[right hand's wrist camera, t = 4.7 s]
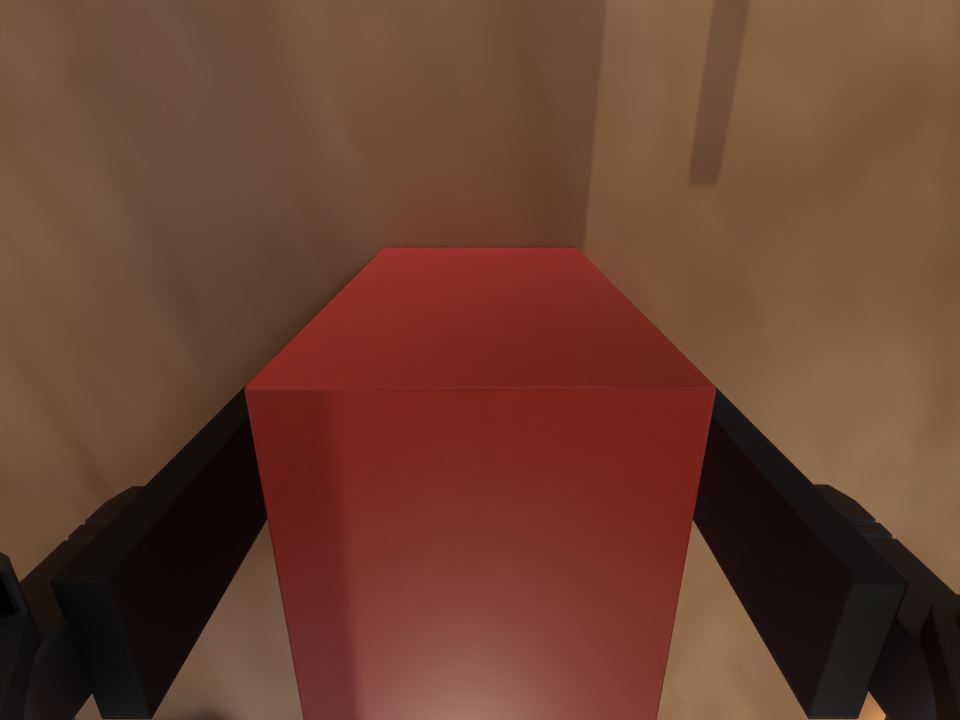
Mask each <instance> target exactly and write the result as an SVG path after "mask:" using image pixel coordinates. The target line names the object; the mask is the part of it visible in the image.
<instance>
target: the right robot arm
mask: <svg viewBox="0 0 960 720" xmlns="http://www.w3.org/2000/svg"><path fill="white" fill-rule="evenodd" d="M715 388H716V387H715ZM266 520H267V513H266V507H265V502H264V496H263V491H262V485H261V479H260V474H259V468H258V463H257V457H256V452H255V446H254V440H253V435H252V429H251V424H250V418H249V413H248V407H247V401H246V396H245V387H244V388H243V389H242V390H241V391H240V392H239V393H238V394H237V395H236V396H235V397H234V398H233V399H232V400H231V401H230V402H229V403H228V404H227V405H226V406H225V407H224V408H223V409H222V410H221V411H220V412H219V413H218V414H217V415H216V416H215V417H214V418H213V419H212V420H211V421H210V422H209V423H208V424H207V425H206V426H205V427H204V428H203V429H202V430H201V431H200V432H199V433H198V434H197V435H196V436H195V437H194V438H193V439H192V440H191V441H190V442H189V443H188V444H187V445H186V446H185V447H184V448H183V449H182V450H181V451H180V452H179V453H178V454H177V455H176V456H175V457H174V458H173V459H172V460H171V461H170V462H169V463H168V464H167V465H166V466H165V467H164V468H163V469H162V470H161V471H160V472H159V473H158V474H157V475H156V476H155V477H154V478H153V479H152V480H151V481H150V482H149V483H148V484H147V485H146V486H132V487H131V488H129V489H127V490H125V491H124V492H122V493H120V494H119V495H117V496H115V497H113V498H112V499H110V500H108V501H107V502H105V503H104V504H103V505H102V506H101V507H100V508H99V509H98V510H96V511H95V512H94V513H93V514H92V515H91V516H90V517H89V518H88V519H87V520H86V521H85V525H80V526H79V527H78V528H77V529H76V530H75V531H74V532H73V533H72V534H71V535H70V536H69V539H68V541H63V542H62V543H61V544H60V545H59V546H58V547H57V548H56V549H55V550H54V551H53V552H52V553H51V554H49V555H48V556H47V557H46V558H45V559H44V560H43V561H42V562H41V563H40V564H39V565H38V566H37V567H36V568H35V569H33V570H32V571H31V572H30V573H29V574H28V575H27V576H26V577H25V578H24V579H23V580H22V581H21V582H20V583H19V581H18V579H17V576H16V574H15V571H14V569H13V567H12V564H11V562H10V559H9V557H8V556H6V555H5V554H3V553H1V552H0V720H75V716H76V715H77V713H78V712H79V710H80V709H81V708H82V706H83V705H84V703H85V702H86V701H87V699H88V698H89V696H90V695H91V694H92V693H93V696H94V699H95V701H96V704H97V706H98V709H99V712H100V714H101V717H102V719H152V717H153V715H154V714H155V712H156V710H157V709H158V707H159V705H160V703H161V702H162V700H163V698H164V696H165V695H166V693H167V691H168V690H169V688H170V686H171V684H172V683H173V681H174V679H175V677H176V676H177V674H178V672H179V671H180V669H181V667H182V665H183V664H184V662H185V660H186V658H187V657H188V655H189V653H190V652H191V650H192V648H193V646H194V645H195V643H196V641H197V639H198V638H199V636H200V634H201V633H202V631H203V629H204V627H205V626H206V624H207V622H208V620H209V619H210V617H211V615H212V614H213V612H214V610H215V608H216V607H217V605H218V603H219V601H220V600H221V598H222V596H223V594H224V593H225V591H226V589H227V588H228V586H229V584H230V582H231V581H232V579H233V577H234V575H235V574H236V572H237V570H238V569H239V567H240V565H241V563H242V562H243V560H244V558H245V556H246V555H247V553H248V551H249V550H250V548H251V546H252V544H253V543H254V541H255V539H256V537H257V536H258V534H259V532H260V531H261V529H262V527H263V525H264V524H265V522H266ZM693 520H694V522H695V524H696V525H697V527H698V529H699V531H700V532H701V534H702V536H703V538H704V539H705V541H706V543H707V544H708V546H709V548H710V550H711V551H712V553H713V555H714V557H715V558H716V560H717V562H718V563H719V565H720V567H721V569H722V570H723V572H724V574H725V576H726V577H727V579H728V581H729V582H730V584H731V586H732V588H733V589H734V591H735V593H736V595H737V596H738V598H739V600H740V601H741V603H742V605H743V607H744V608H745V610H746V612H747V614H748V615H749V617H750V619H751V620H752V622H753V624H754V626H755V627H756V629H757V631H758V633H759V634H760V636H761V638H762V639H763V641H764V643H765V645H766V646H767V648H768V650H769V652H770V653H771V655H772V657H773V658H774V660H775V662H776V664H777V665H778V667H779V669H780V671H781V672H782V674H783V676H784V677H785V679H786V681H787V683H788V684H789V686H790V688H791V690H792V691H793V693H794V695H795V696H796V698H797V700H798V702H799V703H800V705H801V707H802V709H803V710H804V712H805V714H806V715H807V717H808V719H858V717H859V714H860V711H861V709H862V706H863V704H864V701H865V698H866V696H867V693H868V691H869V692H870V694H871V695H872V696H873V698H874V699H875V700H876V702H877V703H878V705H879V706H880V707H881V709H882V710H883V712H884V713H885V714H886V717H885V720H960V594H959V595H956V594H955V593H954V592H953V591H952V590H951V589H950V588H949V587H948V586H947V585H946V584H945V583H943V582H942V581H941V580H940V579H939V578H938V577H937V576H936V575H935V574H934V573H933V572H932V571H931V570H930V569H928V568H927V567H926V566H925V565H924V564H923V563H922V562H921V561H920V560H919V559H918V558H917V557H916V556H914V555H913V554H912V553H911V552H910V551H909V550H908V549H907V548H906V547H905V546H904V545H903V544H902V543H900V542H899V541H898V540H897V539H893V538H892V534H891V533H890V532H889V531H888V530H887V529H885V528H884V527H883V526H882V525H881V524H880V523H876V522H875V518H874V517H873V516H871V515H870V514H869V513H868V512H867V511H866V510H865V509H864V508H863V507H862V506H861V505H860V504H859V503H857V502H856V501H855V500H854V499H852V498H850V497H848V496H847V495H845V494H843V493H842V492H840V491H838V490H836V489H835V488H833V487H831V486H829V485H813V484H812V483H811V482H810V481H809V480H808V479H807V478H806V477H805V476H804V475H803V474H802V473H801V472H800V471H799V470H798V469H797V468H796V467H795V466H794V465H793V464H792V463H791V462H790V461H789V460H788V459H787V458H786V457H785V456H784V455H783V454H782V453H781V452H780V451H779V450H778V449H777V448H776V447H775V446H774V445H773V444H772V443H771V442H770V441H769V440H768V439H767V438H766V437H765V436H764V435H763V434H762V433H761V432H760V431H759V430H758V429H757V428H756V427H755V426H754V425H753V424H752V423H751V422H750V421H749V420H748V419H747V418H746V417H745V416H744V415H743V414H742V413H741V412H740V411H739V410H738V409H737V408H736V407H735V406H734V405H733V404H732V403H731V402H730V401H729V400H728V399H727V398H726V397H725V396H724V395H723V394H722V393H721V392H720V391H719V390H718V389H717V388H716V393H715V398H714V404H713V409H712V415H711V420H710V426H709V432H708V437H707V443H706V448H705V454H704V459H703V465H702V470H701V476H700V482H699V487H698V493H697V498H696V504H695V509H694V515H693Z"/></svg>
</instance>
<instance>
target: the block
mask: <svg viewBox="0 0 960 720" xmlns="http://www.w3.org/2000/svg"><path fill="white" fill-rule="evenodd" d="M715 393H716V388H715V385H714V384H713V383H712V382H711V381H710V380H709V379H708V378H707V377H706V376H705V375H704V374H703V373H702V372H701V371H700V370H699V369H698V368H697V367H696V366H695V365H694V364H693V363H692V362H691V361H690V360H689V359H688V358H687V357H686V356H685V355H684V354H683V353H682V352H681V351H680V350H679V349H678V348H677V347H676V346H675V345H674V344H673V343H672V342H671V341H670V340H669V339H668V338H667V337H666V336H665V335H664V334H663V333H662V332H661V331H660V330H659V329H658V328H657V327H656V326H655V325H654V324H653V323H652V322H651V321H650V320H649V319H648V318H647V317H646V316H645V315H644V314H643V313H642V312H641V311H640V310H639V309H638V308H637V307H636V306H635V305H634V304H633V303H632V302H631V301H630V300H629V299H628V298H627V297H626V296H625V295H624V294H623V293H622V292H621V291H620V290H619V289H618V288H617V287H616V286H615V285H614V284H613V283H612V282H611V281H610V280H609V279H608V278H607V277H606V276H605V275H604V274H603V273H602V272H601V271H600V270H599V269H598V268H597V267H596V266H595V265H594V264H593V263H592V262H591V261H590V260H589V259H588V258H587V257H586V256H585V255H584V254H583V253H582V252H581V251H580V250H579V249H578V248H383V249H382V250H381V251H380V252H379V253H378V254H377V255H376V256H375V257H374V258H373V259H372V260H371V261H370V262H369V263H368V264H367V265H366V266H365V267H364V268H363V269H362V270H361V271H360V272H359V273H358V274H357V275H356V276H355V277H354V278H353V279H352V280H351V281H350V282H349V283H348V284H347V285H346V286H345V287H344V288H343V289H342V290H341V291H340V292H339V293H338V294H337V295H336V296H335V297H334V298H333V299H332V300H331V301H330V302H329V303H328V304H327V305H326V306H325V307H324V308H323V309H322V310H321V311H320V312H319V313H318V314H317V315H316V316H315V317H314V318H313V319H312V320H311V321H310V322H309V323H308V324H307V325H306V326H305V327H304V328H303V329H302V330H301V331H300V332H299V333H298V334H297V335H296V336H295V337H294V338H293V339H292V340H291V341H290V342H289V343H288V344H287V345H286V346H285V347H284V348H283V349H282V350H281V351H280V352H279V353H278V354H277V355H276V356H275V357H274V358H273V359H272V360H271V361H270V362H269V363H268V364H267V365H266V366H265V367H264V368H263V369H262V370H261V371H260V372H259V373H258V374H257V375H256V376H255V377H254V378H253V379H252V380H251V381H250V382H249V383H248V384H247V385H246V386H245V396H246V401H247V407H248V413H249V418H250V424H251V429H252V435H253V440H254V446H255V452H256V457H257V463H258V468H259V474H260V479H261V485H262V491H263V496H264V502H265V507H266V513H267V518H268V524H269V529H270V535H271V541H272V546H273V552H274V557H275V563H276V568H277V574H278V580H279V585H280V591H281V596H282V602H283V607H284V613H285V619H286V624H287V630H288V635H289V641H290V646H291V652H292V657H293V663H294V669H295V674H296V680H297V685H298V691H299V696H300V702H301V708H302V713H303V719H304V720H657V715H658V709H659V704H660V698H661V693H662V687H663V682H664V676H665V670H666V665H667V659H668V654H669V648H670V643H671V637H672V632H673V626H674V620H675V615H676V609H677V604H678V598H679V593H680V587H681V582H682V576H683V570H684V565H685V559H686V554H687V548H688V543H689V537H690V532H691V526H692V520H693V515H694V509H695V504H696V498H697V493H698V487H699V482H700V476H701V470H702V465H703V459H704V454H705V448H706V443H707V437H708V432H709V426H710V420H711V415H712V409H713V404H714V398H715Z"/></svg>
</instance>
